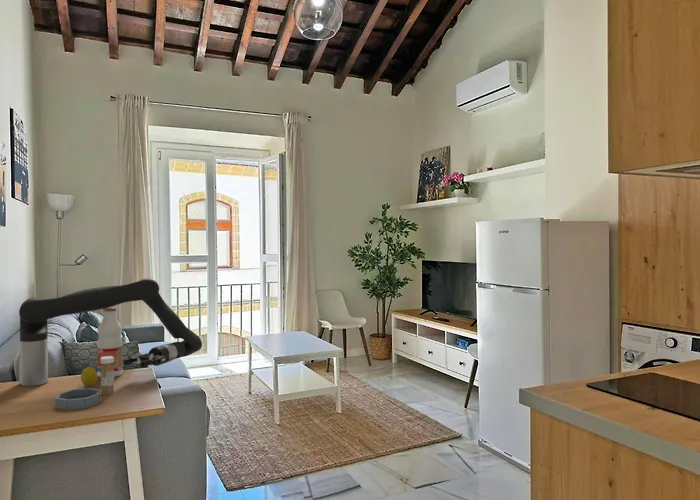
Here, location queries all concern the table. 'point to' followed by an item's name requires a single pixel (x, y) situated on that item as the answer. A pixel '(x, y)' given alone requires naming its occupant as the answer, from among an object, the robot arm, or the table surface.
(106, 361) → the spice jar
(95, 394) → the bowl
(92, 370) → the lemon
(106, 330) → the fruit juice
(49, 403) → the table surface
